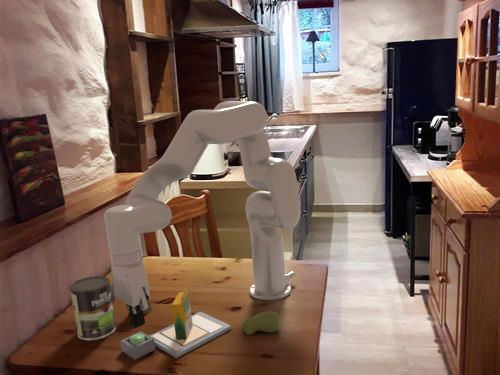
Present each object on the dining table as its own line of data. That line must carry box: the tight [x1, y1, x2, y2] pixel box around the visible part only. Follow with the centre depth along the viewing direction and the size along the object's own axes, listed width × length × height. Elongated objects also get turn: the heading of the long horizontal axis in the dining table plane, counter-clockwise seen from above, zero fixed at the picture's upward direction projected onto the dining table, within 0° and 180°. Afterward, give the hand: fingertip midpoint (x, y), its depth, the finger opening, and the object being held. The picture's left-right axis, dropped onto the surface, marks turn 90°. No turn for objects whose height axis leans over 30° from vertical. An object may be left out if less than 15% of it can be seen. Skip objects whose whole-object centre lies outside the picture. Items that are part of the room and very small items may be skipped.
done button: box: [130, 333, 145, 346], centre depth 127 cm, size 4×4×4 cm
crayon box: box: [171, 285, 193, 340], centre depth 131 cm, size 7×3×12 cm, turn 173°
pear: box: [241, 310, 281, 336], centre depth 132 cm, size 6×5×10 cm
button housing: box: [120, 330, 156, 361], centre depth 127 cm, size 6×6×3 cm
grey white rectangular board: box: [149, 311, 232, 359], centre depth 133 cm, size 18×13×1 cm
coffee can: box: [69, 275, 117, 342], centre depth 137 cm, size 10×10×14 cm
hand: (138, 325), depth 127 cm, fingers closed
